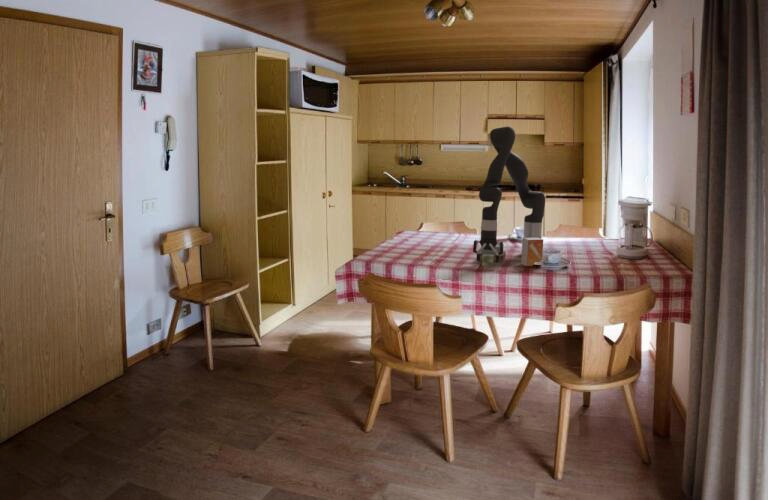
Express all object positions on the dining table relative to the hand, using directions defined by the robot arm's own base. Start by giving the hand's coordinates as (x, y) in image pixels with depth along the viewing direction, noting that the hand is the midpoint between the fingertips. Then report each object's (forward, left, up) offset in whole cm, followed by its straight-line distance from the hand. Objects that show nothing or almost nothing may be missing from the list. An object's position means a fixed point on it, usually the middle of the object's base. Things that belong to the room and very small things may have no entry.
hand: (487, 262), depth 292 cm
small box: (-20, -8, -2) cm, 22 cm away
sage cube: (0, 0, -2) cm, 2 cm away
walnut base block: (0, -15, -2) cm, 15 cm away
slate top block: (0, -15, +2) cm, 15 cm away
